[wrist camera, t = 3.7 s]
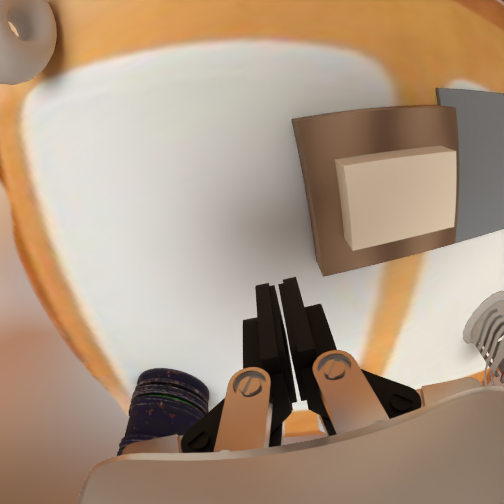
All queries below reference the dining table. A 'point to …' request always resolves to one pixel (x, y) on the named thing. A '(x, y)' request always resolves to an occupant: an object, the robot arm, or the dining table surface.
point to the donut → (25, 39)
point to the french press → (488, 332)
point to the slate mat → (478, 160)
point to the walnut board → (356, 144)
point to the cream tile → (396, 194)
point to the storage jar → (164, 405)
